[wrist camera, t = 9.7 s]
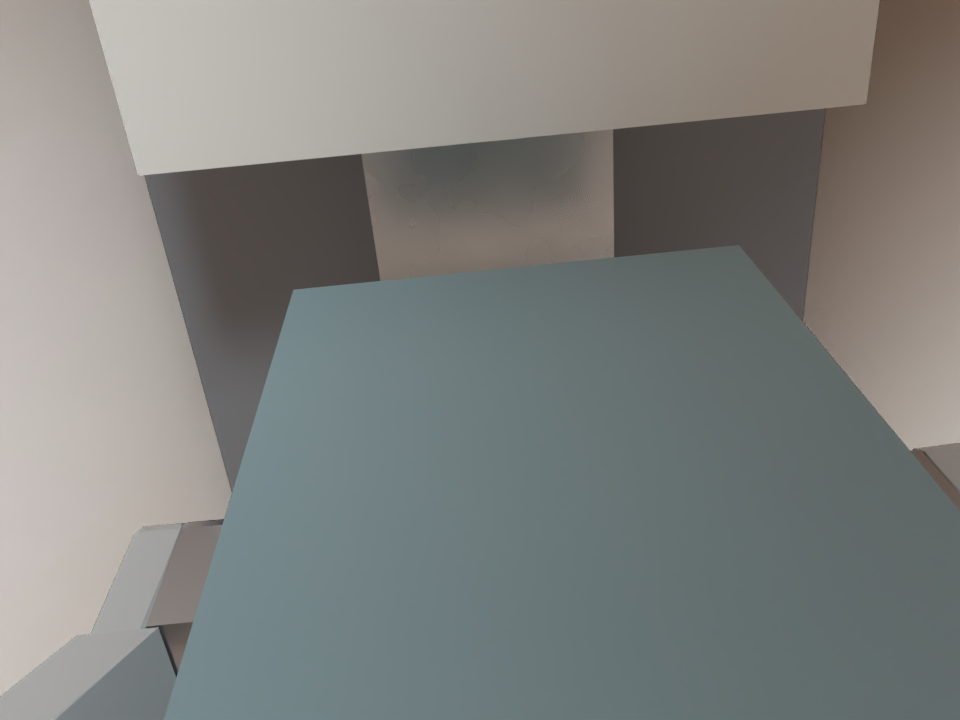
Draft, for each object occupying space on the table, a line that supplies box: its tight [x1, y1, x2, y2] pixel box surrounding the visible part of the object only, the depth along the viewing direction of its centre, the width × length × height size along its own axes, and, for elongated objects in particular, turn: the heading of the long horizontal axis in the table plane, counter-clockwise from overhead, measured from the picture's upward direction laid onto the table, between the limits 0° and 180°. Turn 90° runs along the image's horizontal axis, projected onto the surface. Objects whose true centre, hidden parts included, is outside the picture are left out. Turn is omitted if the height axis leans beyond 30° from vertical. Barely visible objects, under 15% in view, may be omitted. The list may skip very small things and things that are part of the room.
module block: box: [164, 245, 960, 720], centre depth 9 cm, size 4×6×8 cm, turn 95°
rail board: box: [89, 0, 880, 492], centre depth 17 cm, size 20×14×8 cm
